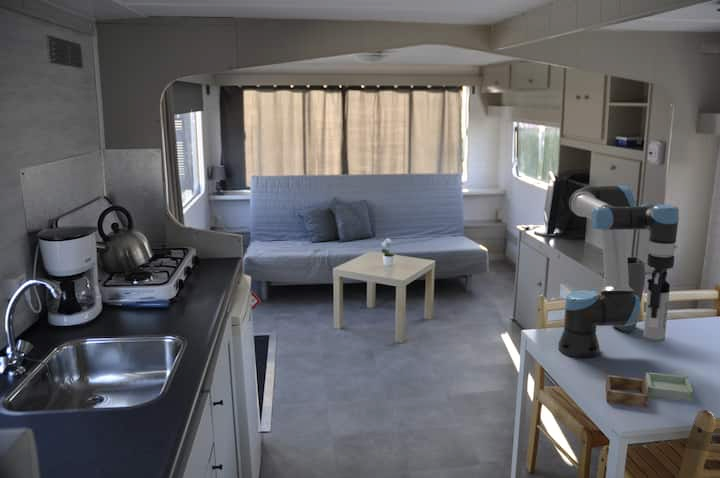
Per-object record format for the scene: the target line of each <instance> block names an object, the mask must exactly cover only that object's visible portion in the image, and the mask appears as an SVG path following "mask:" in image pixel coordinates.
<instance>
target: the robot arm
mask: <svg viewBox="0 0 720 478" xmlns="http://www.w3.org/2000/svg"><path fill="white" fill-rule="evenodd" d="M568 207H569V209H570V211H571V212H572V213H573V214H575V215H576V216H577V217H582V218H587V219H589V220H591V225H592V227H593V228H594V229H595V230H601V231H602V232H601V233H602V255H603V258H602V259H603V274H604V275H603V276H604V277H603V279H604V287H602V289H601V290H600V294H599V293H598V292H597V291H594V290H588V289H582V290H574V291H572V292H570V293H569V294H567V295H566V298H565V303H564V323H563V330H562V333H561V335H560V339H559V340H558V344H557V345H558V347H557V348H558V351H559V352H561V353H562V354H564V355H566V356H569V357H573V358H578V359H579V358H580V359H590V358H594V357H597V356H598V355H599V354H600V344H599V340H598V336H597V333H596V332H597V327H614V326H631V325H634V324H635V323H636V322H637V323H638V320H639V317H640V313H641V303H640V301H639V300H640V299H639V297H638V296H636V295H634V291H633V289H631V288H630V287H629V278H628V259H627V257H628V241H627V230H647V231H649V237H648V238H649V239H648V250H647V251H648V254H647V262H646V263H647V266H648V267H650V268H653V269H654V270H653V271H652V273H651V279H652V284H651V285H652V287H651V297H650V305H648V307H650V314H649V325H648V326H650V327H656V328H658V322H659V312H660V308H659V307H660V306H659V304H660V296H661V288H662V287H663V285H664V282H667V276H668V270H669V269H672V268H674V266H675V258H676V257H675V256H674V255H675V253H676V249H678V247H679V246H678V245H677V234H678V229H679V228H678V227H679V226H678V225H679V221H680V217H679V215H680V214H679V213H680V210H679V209H680V208H678V207H677V206H676V205H671V204H655V205H653V204H645V203H644V204H642V205H638V206H636V201H635V197H634V193H633V192H632V190H631V189H630V188H629V187H628V186H626V185H625V186H623V185H601V186H600V185H599V186H595V185H594V186H592V185H591V186H590V185H589V186H584V187H581V188H578V189H577V190H575V191H574V192H573V193H572V194H571V196H570V197H569V200H568ZM661 285H662V286H661Z"/></svg>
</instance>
